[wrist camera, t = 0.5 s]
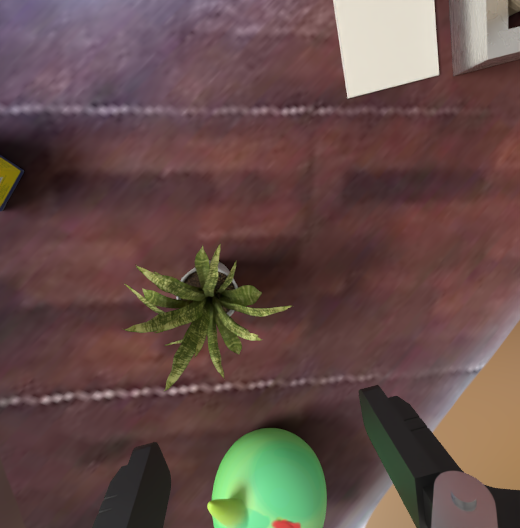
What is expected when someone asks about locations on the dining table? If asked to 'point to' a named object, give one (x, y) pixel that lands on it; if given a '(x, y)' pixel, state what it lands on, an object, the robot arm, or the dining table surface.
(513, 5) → the handle
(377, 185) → the dining table surface
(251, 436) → the toy bird
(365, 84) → the mat
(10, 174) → the supplement box
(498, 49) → the collar
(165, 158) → the dining table surface
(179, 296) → the house plant
